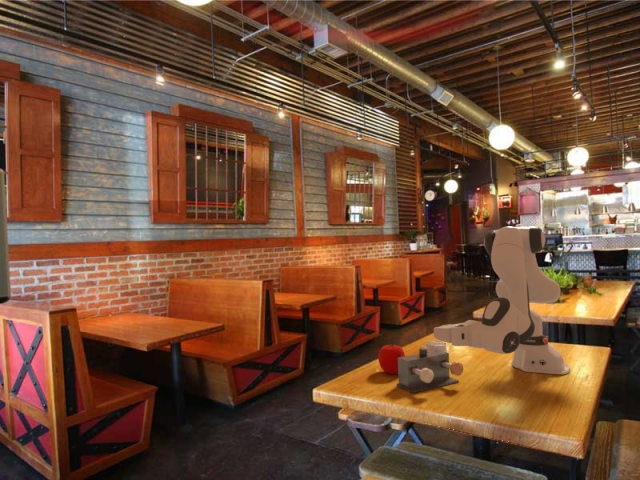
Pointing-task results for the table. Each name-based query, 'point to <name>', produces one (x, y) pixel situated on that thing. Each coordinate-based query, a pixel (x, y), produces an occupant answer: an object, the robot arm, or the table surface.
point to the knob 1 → (424, 374)
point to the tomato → (390, 358)
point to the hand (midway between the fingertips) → (444, 326)
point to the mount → (431, 362)
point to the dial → (423, 351)
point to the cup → (436, 346)
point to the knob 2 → (453, 367)
